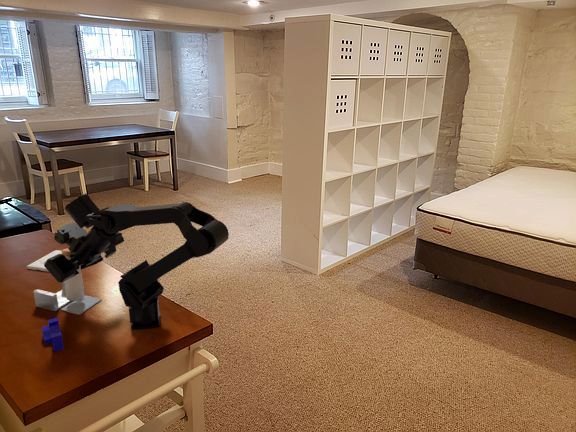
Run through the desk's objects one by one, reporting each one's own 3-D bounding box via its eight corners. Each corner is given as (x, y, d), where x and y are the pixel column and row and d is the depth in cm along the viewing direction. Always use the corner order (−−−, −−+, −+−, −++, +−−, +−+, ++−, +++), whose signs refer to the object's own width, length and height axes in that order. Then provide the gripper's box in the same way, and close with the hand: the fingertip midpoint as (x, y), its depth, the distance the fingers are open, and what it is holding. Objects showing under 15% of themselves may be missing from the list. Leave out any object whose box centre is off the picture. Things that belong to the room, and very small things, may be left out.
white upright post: (86, 291, 117) (79, 246, 113) (82, 299, 113) (75, 253, 109) (68, 293, 116) (61, 247, 112) (64, 301, 112) (56, 254, 108)
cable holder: (43, 336, 102) (40, 321, 100) (59, 332, 103) (57, 317, 102) (46, 354, 95) (44, 339, 94) (64, 349, 97) (61, 334, 96)
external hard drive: (77, 257, 144) (49, 273, 132) (55, 254, 145) (27, 269, 134) (76, 252, 143) (48, 268, 132) (55, 249, 145) (26, 265, 133)
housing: (84, 293, 120) (82, 279, 119) (55, 311, 111) (52, 296, 110) (66, 289, 122) (63, 275, 121) (36, 306, 113) (33, 291, 112)
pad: (101, 300, 117) (101, 299, 117) (79, 314, 110) (79, 313, 110) (84, 295, 119) (84, 294, 119) (61, 310, 112) (60, 309, 112)
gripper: (102, 205, 114) (75, 238, 121) (43, 228, 97) (16, 264, 104) (129, 237, 114) (101, 267, 121) (75, 265, 98) (46, 299, 105)
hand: (68, 273), depth 113 cm, fingers closed on white upright post, 4 cm apart
